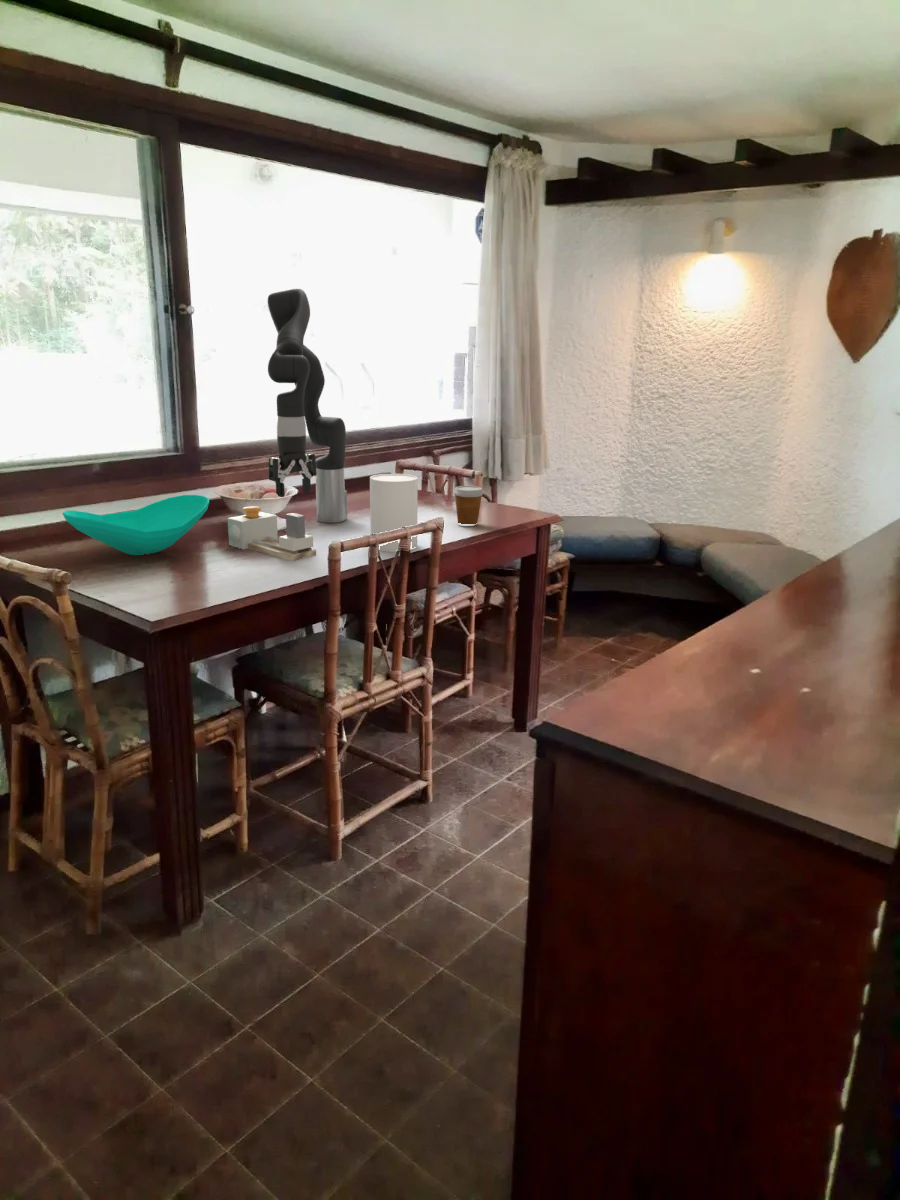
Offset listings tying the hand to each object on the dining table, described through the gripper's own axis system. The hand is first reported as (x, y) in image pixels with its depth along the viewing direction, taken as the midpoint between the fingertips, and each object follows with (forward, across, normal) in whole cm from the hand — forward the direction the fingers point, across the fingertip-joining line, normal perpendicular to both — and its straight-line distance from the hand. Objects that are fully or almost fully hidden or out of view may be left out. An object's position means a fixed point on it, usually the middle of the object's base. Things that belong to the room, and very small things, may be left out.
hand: (293, 494), depth 224 cm
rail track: (+17, 0, -6) cm, 18 cm away
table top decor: (+17, +27, -33) cm, 46 cm away
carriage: (+15, 0, 0) cm, 15 cm away
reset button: (+9, 0, -19) cm, 21 cm away
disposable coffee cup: (+17, -64, +8) cm, 67 cm away
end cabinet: (+17, 0, -19) cm, 26 cm away
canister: (+17, -27, +11) cm, 34 cm away
